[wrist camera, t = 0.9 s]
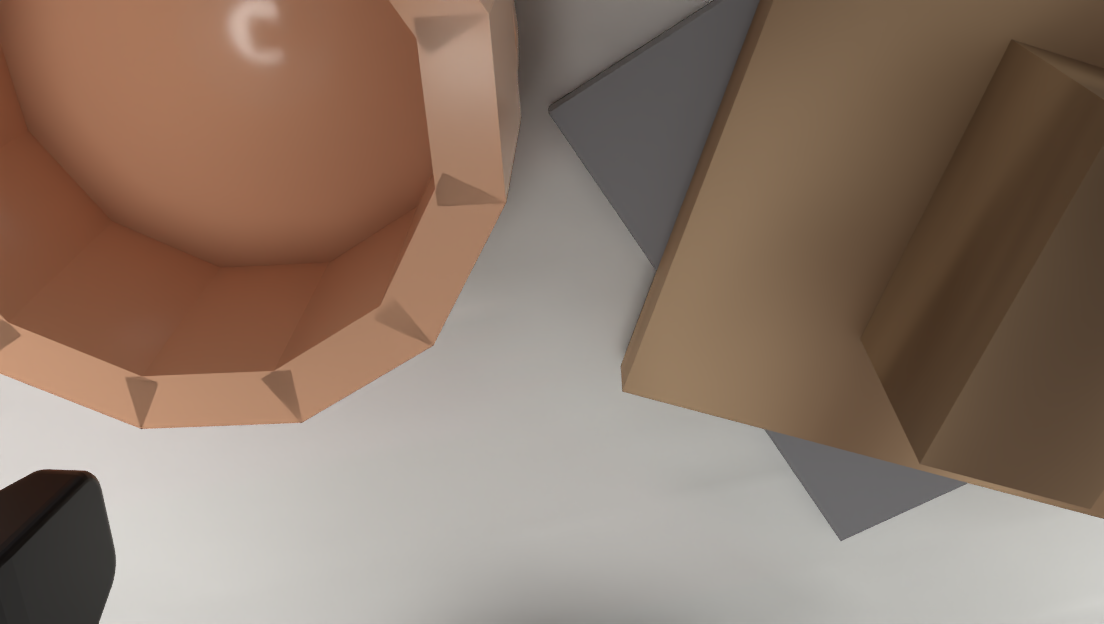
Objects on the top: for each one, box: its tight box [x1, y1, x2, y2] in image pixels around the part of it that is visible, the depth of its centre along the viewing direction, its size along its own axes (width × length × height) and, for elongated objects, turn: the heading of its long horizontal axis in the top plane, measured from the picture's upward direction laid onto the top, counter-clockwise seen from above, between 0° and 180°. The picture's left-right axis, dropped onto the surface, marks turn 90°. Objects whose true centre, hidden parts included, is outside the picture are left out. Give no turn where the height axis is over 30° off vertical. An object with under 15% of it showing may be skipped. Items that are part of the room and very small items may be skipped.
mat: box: [549, 0, 967, 541], centre depth 20 cm, size 12×12×1 cm
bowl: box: [0, 0, 521, 429], centre depth 17 cm, size 10×10×5 cm
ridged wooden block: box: [621, 0, 1104, 519], centre depth 17 cm, size 11×11×5 cm
